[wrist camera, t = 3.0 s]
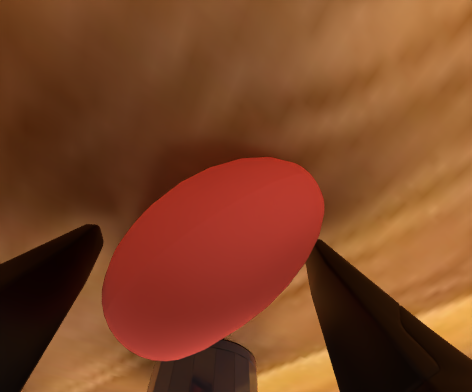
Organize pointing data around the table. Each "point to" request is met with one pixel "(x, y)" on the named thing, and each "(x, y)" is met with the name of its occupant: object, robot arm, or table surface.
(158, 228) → the stress ball
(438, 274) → the table surface
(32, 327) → the robot arm
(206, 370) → the cup
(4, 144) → the table surface
